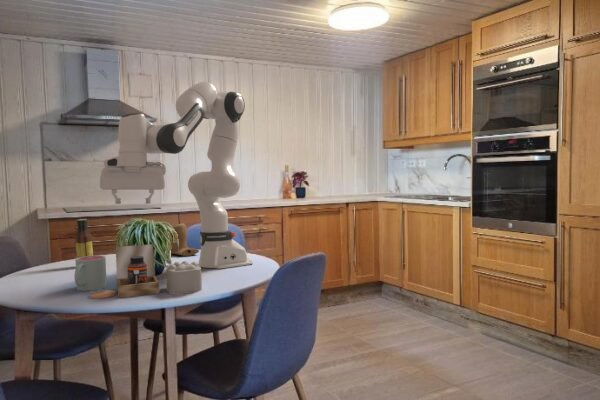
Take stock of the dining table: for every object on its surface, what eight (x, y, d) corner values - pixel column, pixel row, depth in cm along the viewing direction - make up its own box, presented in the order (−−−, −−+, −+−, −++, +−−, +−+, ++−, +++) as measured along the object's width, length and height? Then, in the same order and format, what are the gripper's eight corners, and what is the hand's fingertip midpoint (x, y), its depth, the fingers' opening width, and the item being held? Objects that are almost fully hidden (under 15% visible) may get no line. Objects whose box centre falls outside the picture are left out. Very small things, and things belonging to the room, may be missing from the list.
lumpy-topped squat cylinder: (172, 295, 145) (171, 267, 144) (163, 286, 156) (162, 261, 156) (204, 290, 150) (204, 264, 149) (193, 282, 161) (192, 258, 161)
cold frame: (153, 282, 162) (152, 244, 161) (159, 293, 147) (157, 250, 147) (116, 286, 157) (115, 246, 157) (118, 297, 143) (117, 253, 142)
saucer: (115, 291, 150) (115, 288, 150) (116, 296, 144) (116, 294, 143) (89, 294, 147) (89, 291, 147) (89, 299, 140) (89, 297, 140)
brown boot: (161, 254, 221) (160, 223, 221) (184, 251, 229) (183, 221, 228) (176, 258, 210) (175, 225, 209) (200, 255, 218) (199, 223, 217)
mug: (86, 283, 162) (85, 255, 161) (111, 284, 161) (110, 255, 160) (62, 293, 148) (61, 263, 148) (89, 294, 147) (88, 263, 147)
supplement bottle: (141, 294, 147) (140, 258, 146) (124, 293, 148) (123, 258, 147) (151, 289, 152) (149, 255, 152) (134, 288, 154) (133, 255, 153)
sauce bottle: (92, 264, 199) (90, 218, 198) (94, 266, 193) (93, 219, 192) (75, 266, 195) (73, 219, 194) (77, 268, 190) (75, 220, 189)
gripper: (166, 162, 158) (166, 203, 159) (102, 161, 154) (102, 203, 154) (164, 161, 152) (165, 203, 153) (98, 160, 148) (98, 204, 148)
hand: (133, 203), depth 154 cm, fingers open, 8 cm apart
